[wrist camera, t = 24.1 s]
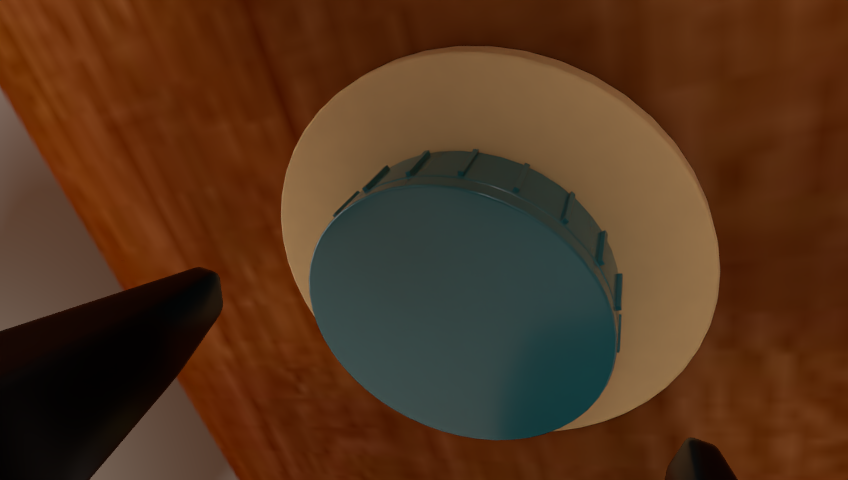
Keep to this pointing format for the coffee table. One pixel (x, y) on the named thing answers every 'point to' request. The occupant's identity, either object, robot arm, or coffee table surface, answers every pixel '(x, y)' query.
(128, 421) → the robot arm
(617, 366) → the coaster
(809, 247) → the coffee table surface
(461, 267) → the jar lid
